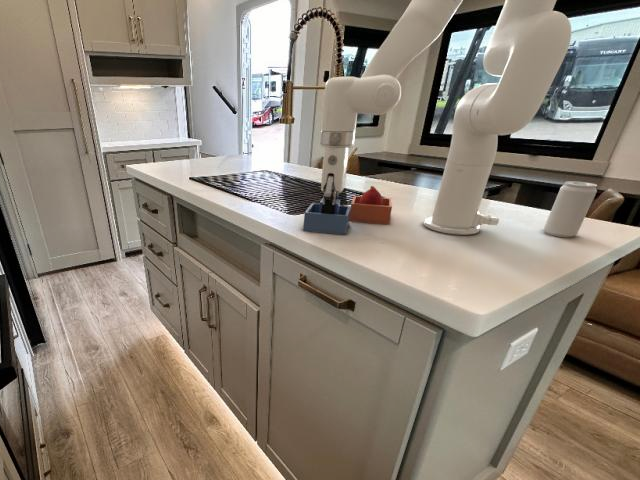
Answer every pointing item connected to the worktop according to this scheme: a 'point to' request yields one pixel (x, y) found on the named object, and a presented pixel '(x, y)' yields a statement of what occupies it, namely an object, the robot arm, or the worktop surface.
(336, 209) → the blue block
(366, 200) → the onion
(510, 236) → the worktop surface
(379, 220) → the terracotta bin
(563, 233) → the beverage can
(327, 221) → the blue bin
